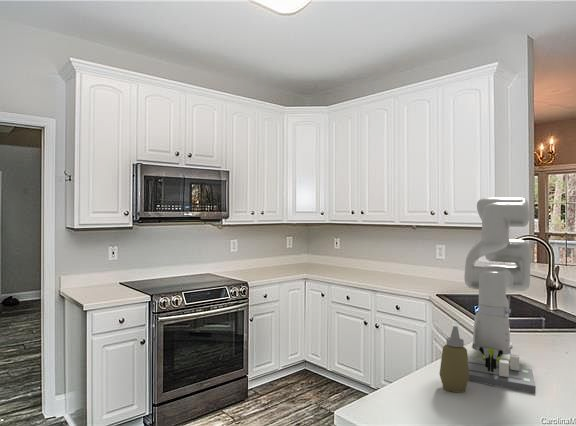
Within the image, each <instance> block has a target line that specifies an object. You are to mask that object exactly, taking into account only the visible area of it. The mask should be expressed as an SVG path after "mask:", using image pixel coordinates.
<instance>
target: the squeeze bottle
mask: <svg viewBox="0 0 576 426" xmlns="http://www.w3.org/2000/svg"><path fill="white" fill-rule="evenodd" d="M468 356H469V355H468V349H467V348H466V347H465V342H464V339H463V338H460V333H459V327H458V326H455V325H453V327H452V329H451V334H450V337H447V338H446V344H445V345H443V346H442V352H441V359H440V367H439V377H440V380H441V383H442V386H443V389H445V390H446V391H449V392H452V393H464V392H466V388H467V386H468V384H469V382H470V381H469V368H468V359H469V358H468Z"/></svg>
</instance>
